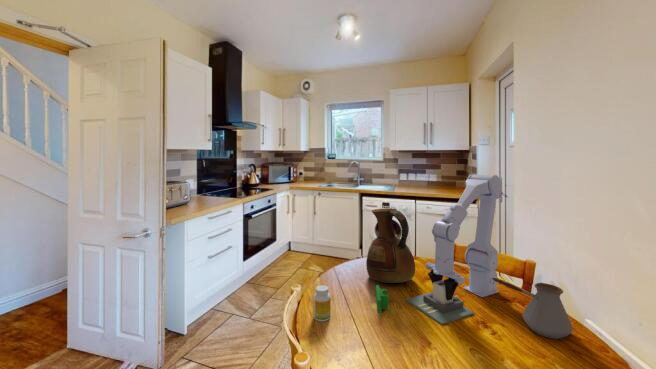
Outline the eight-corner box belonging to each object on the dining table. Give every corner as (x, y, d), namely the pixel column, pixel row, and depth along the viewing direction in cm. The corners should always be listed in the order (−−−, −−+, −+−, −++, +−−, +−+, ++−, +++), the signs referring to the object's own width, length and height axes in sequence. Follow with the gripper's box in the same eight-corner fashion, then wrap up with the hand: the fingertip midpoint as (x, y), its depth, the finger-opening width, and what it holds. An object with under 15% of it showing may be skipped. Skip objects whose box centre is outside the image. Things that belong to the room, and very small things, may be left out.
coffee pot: (554, 320, 85) (557, 273, 84) (583, 345, 74) (587, 291, 73) (480, 315, 88) (482, 270, 87) (497, 338, 77) (500, 286, 76)
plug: (442, 296, 97) (442, 279, 96) (452, 302, 93) (453, 284, 92) (432, 299, 95) (433, 281, 94) (443, 305, 91) (443, 287, 90)
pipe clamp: (389, 314, 89) (389, 300, 89) (377, 313, 90) (377, 300, 89) (386, 297, 100) (386, 285, 100) (375, 296, 101) (375, 284, 100)
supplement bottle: (311, 315, 89) (310, 286, 88) (326, 311, 91) (325, 282, 90) (317, 323, 84) (317, 293, 83) (333, 319, 86) (333, 289, 85)
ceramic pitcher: (382, 266, 130) (383, 203, 127) (423, 279, 116) (425, 208, 113) (356, 279, 115) (356, 208, 113) (399, 295, 102) (401, 214, 99)
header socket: (435, 292, 103) (435, 283, 103) (473, 314, 89) (474, 303, 89) (406, 300, 98) (406, 290, 97) (441, 324, 83) (442, 313, 83)
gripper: (419, 252, 98) (418, 289, 99) (453, 266, 84) (452, 309, 86) (434, 249, 101) (433, 285, 102) (469, 262, 87) (468, 304, 89)
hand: (443, 296), depth 94 cm, fingers closed on plug, 4 cm apart
